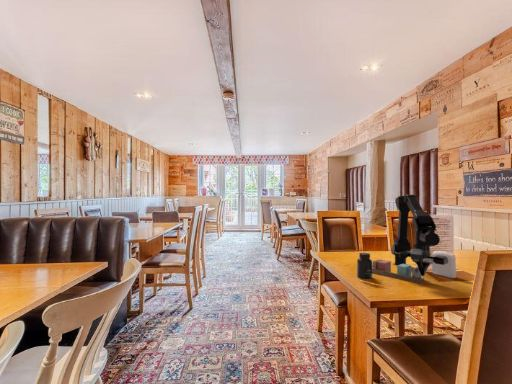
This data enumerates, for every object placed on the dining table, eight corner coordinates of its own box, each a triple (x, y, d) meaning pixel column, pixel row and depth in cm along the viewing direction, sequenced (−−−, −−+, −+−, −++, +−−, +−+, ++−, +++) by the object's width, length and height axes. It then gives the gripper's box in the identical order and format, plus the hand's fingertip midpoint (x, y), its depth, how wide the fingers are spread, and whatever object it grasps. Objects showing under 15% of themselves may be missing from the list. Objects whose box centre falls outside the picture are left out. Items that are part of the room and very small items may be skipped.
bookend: (418, 277, 135) (418, 266, 135) (424, 278, 133) (423, 267, 133) (412, 280, 130) (412, 268, 130) (417, 281, 128) (417, 269, 128)
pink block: (383, 270, 148) (383, 260, 148) (390, 272, 144) (390, 261, 145) (377, 272, 144) (377, 261, 144) (385, 274, 141) (385, 263, 141)
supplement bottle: (370, 281, 132) (370, 255, 132) (355, 278, 135) (355, 253, 135) (373, 277, 137) (373, 252, 138) (358, 275, 141) (358, 251, 141)
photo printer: (430, 274, 143) (430, 249, 143) (435, 273, 145) (435, 249, 145) (452, 279, 134) (452, 253, 134) (457, 278, 136) (457, 252, 136)
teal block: (402, 274, 140) (402, 263, 140) (411, 276, 137) (411, 265, 137) (397, 277, 136) (397, 265, 136) (405, 278, 133) (405, 267, 133)
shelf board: (381, 270, 151) (381, 258, 151) (431, 280, 132) (431, 267, 132) (370, 273, 144) (370, 261, 144) (422, 285, 125) (422, 271, 125)
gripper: (394, 241, 132) (394, 274, 132) (439, 247, 118) (439, 284, 118) (404, 238, 139) (404, 270, 139) (448, 244, 125) (448, 279, 125)
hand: (422, 275), depth 130 cm, fingers closed
